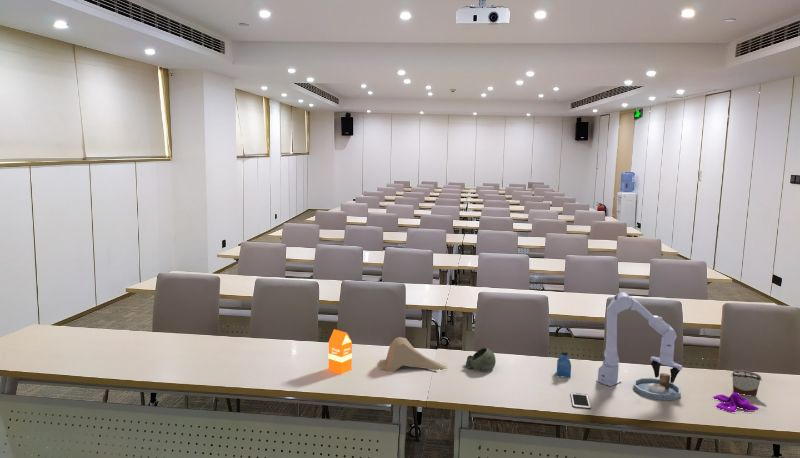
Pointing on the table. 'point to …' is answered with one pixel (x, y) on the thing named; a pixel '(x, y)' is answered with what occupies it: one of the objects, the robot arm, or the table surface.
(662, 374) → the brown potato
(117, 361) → the table surface
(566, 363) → the perfume bottle
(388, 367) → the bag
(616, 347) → the robot arm
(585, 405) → the cell phone
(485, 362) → the green round pot
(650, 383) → the round tray
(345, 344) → the orange juice
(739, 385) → the food container
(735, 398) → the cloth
